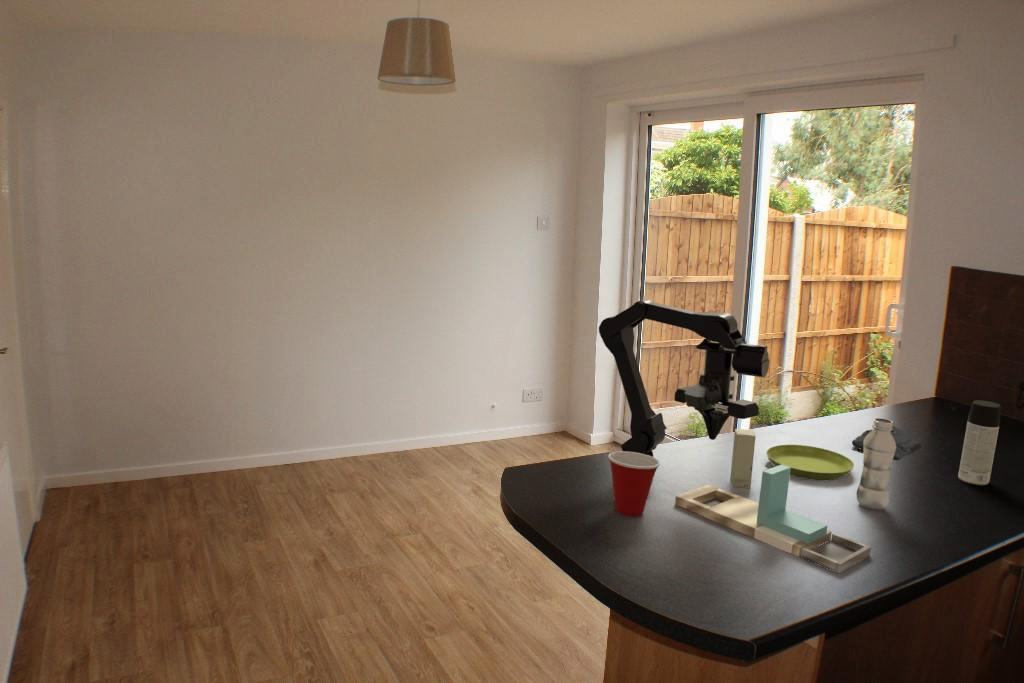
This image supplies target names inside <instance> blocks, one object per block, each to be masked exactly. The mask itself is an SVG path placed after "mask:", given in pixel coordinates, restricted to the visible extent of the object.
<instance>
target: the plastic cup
mask: <svg viewBox="0 0 1024 683" xmlns="http://www.w3.org/2000/svg"><path fill="white" fill-rule="evenodd" d="M608 460H609V463H610V468H611V469H610V470H611V478H612V479H611V480H612V491H613V497H614V498H613V499H614V508H615V511H616V513H617V514H619V515H621V516H625V517H630V518H633V517H640V516H641V515H643V513H644V511H645V508H646V503H647V500H648V497H649V494H650V491H651V486H652V483H653V479H654V477H655V474H656V472H657V469H658V468H659V467H660V465H661V461H660V460H659V459H657V457H655V456H653V457H651V456H649V455H645V454H641V453H635V452H624V451H622V450H620V451H613V452H611V453H608Z"/></svg>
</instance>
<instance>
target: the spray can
mask: <svg viewBox="0 0 1024 683" xmlns="http://www.w3.org/2000/svg"><path fill="white" fill-rule="evenodd" d="M1001 411H1002V405H1001V404H999V403H996V402H993V401H988V400H979V399H978V400H973V401H972V403H971V406H970V410H969V413H968V418H967V422H966V428H965V429H966V430H965V435H964V439H963V445H962V452H961V457H960V458H961V459H960V463H959V470H958V474H957V475H958V479H959V480H960V481H962V482H964V483H967V484H973V485H977V486H985V485H989V483H990V481H991V474H992V468H993V463H994V457H995V451H996V446H997V440H998V435H999V429H1000V423H1001Z"/></svg>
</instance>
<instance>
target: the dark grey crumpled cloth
mask: <svg viewBox="0 0 1024 683" xmlns="http://www.w3.org/2000/svg"><path fill="white" fill-rule="evenodd" d="M872 430H873V429H868V430H865V431H863V432H862V434H860V435H859V436H858V435H857V437H855V439H853V440H852V441H851V444H852V446H853V447H854V448H857V449H859V450H862V451H864V448H863V446H864V445H863V443H864V439H865V437H866V436H867V435H868V434H869V433H870V432H871V431H872ZM890 433H891V435H892V436H893V438H894V440H895V442H896V451H895V454H894V457H893V460H897V461H899V460H901V459H903V458H904V457H907V456H909V455H911V454H912V453H914V452H915V451H917V450H918V449H920V448H921V447H922V445H921V443H920V442H918V441H917V440H916V439H914V438H912V437H911V436H909V434H908V433H907V432H906V430H903V429H901V428H899V427H897V426H895V425H892V431H890Z"/></svg>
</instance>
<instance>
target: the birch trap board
mask: <svg viewBox="0 0 1024 683" xmlns="http://www.w3.org/2000/svg"><path fill="white" fill-rule="evenodd" d="M674 504H676V505H675V506H677V505H678V507H680V506H681V508H682V507H683V508H682V509H684V508H685V510H687V509H688V510H687V511H689V510H690V511H689V512H692V513H694V512H695V513H694V514H696V513H697V514H696V515H699V516H701V517H703V516H704V518H706V519H708V520H710V519H711V520H710V521H713V522H716V523H718V524H720V525H723V526H725V527H728V528H729V529H732V530H734V531H737V532H739V533H742V534H744V535H746V536H749V537H750V538H753V539H755V538H754V535H755V529H756V528H758V527H760V526H762V525H760V524H758V523H756V522H757V514H758V506H759V502H757V501H753V500H751V499H749V498H746V497H743V496H741V495H739V494H736V493H733V492H729V491H727V490H726V489H723V488H719V487H717V486H714V485H712V484H706V485H704V486H700V487H697V488H695V489H692V490H690V491H686V492H683V493H680V494H678V495H675V502H674ZM829 540H831V541H829ZM827 541H829V542H827ZM825 542H827V543H825ZM823 543H825V544H823ZM821 544H823V545H821ZM819 545H821V546H819ZM818 546H819V547H818ZM816 547H817V548H816ZM814 548H815V549H814ZM812 549H813V550H812ZM871 551H872V547H871V546H869V545H867V544H864V543H863V542H862V543H861V542H859V541H856V540H853V539H851V538H848V537H846V536H843V535H840V534H838V533H836V532H834V533H832V531H831V530H829V529H827V533H826V535H825V536H823V537H821V538H819V539H817V540H815V541H813V542H811V543H809V544H806V543H804V542H801V541H798V542H796V543H794V544H793V545H792V554H791V555H793V554H794V556H796V557H798V556H799V557H800V558H801V559H803V558H804V559H803V560H805V559H806V560H805V561H807V560H809V561H808V562H810V561H811V562H810V563H812V562H813V563H812V564H815V563H816V564H815V565H817V564H819V565H821V566H820V567H822V566H823V567H822V568H824V567H825V569H826V568H828V569H827V570H829V569H831V570H833V571H832V572H834V571H835V572H834V573H836V572H838V573H839V574H841V573H843V572H844V571H843V570H845V569H846V570H848V569H849V567H850V566H851V567H853V566H854V564H855V563H857V562H858V563H860V562H862V561H863V559H864V560H865V559H867V558H869V557H870V556H871ZM868 556H869V557H868ZM861 560H862V561H861ZM859 561H860V562H859ZM858 563H857V564H858ZM819 565H818V566H819ZM852 565H853V566H852ZM855 565H856V564H855ZM851 567H850V568H851ZM847 568H848V569H847ZM831 570H830V571H831ZM846 570H845V571H846ZM842 571H843V572H842ZM840 572H841V573H840ZM838 573H837V574H838Z"/></svg>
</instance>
